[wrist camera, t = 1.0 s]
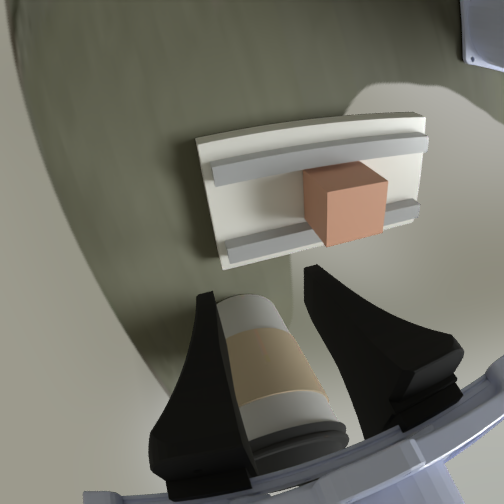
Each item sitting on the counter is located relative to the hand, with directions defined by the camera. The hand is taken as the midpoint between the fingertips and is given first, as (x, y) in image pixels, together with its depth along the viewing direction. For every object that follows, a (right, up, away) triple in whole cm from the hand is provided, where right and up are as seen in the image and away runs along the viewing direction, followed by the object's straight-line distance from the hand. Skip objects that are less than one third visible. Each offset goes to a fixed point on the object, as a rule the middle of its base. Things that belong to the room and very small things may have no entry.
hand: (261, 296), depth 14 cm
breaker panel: (+4, +7, +8) cm, 12 cm away
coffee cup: (-2, -4, +15) cm, 15 cm away
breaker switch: (+5, +6, +7) cm, 10 cm away
